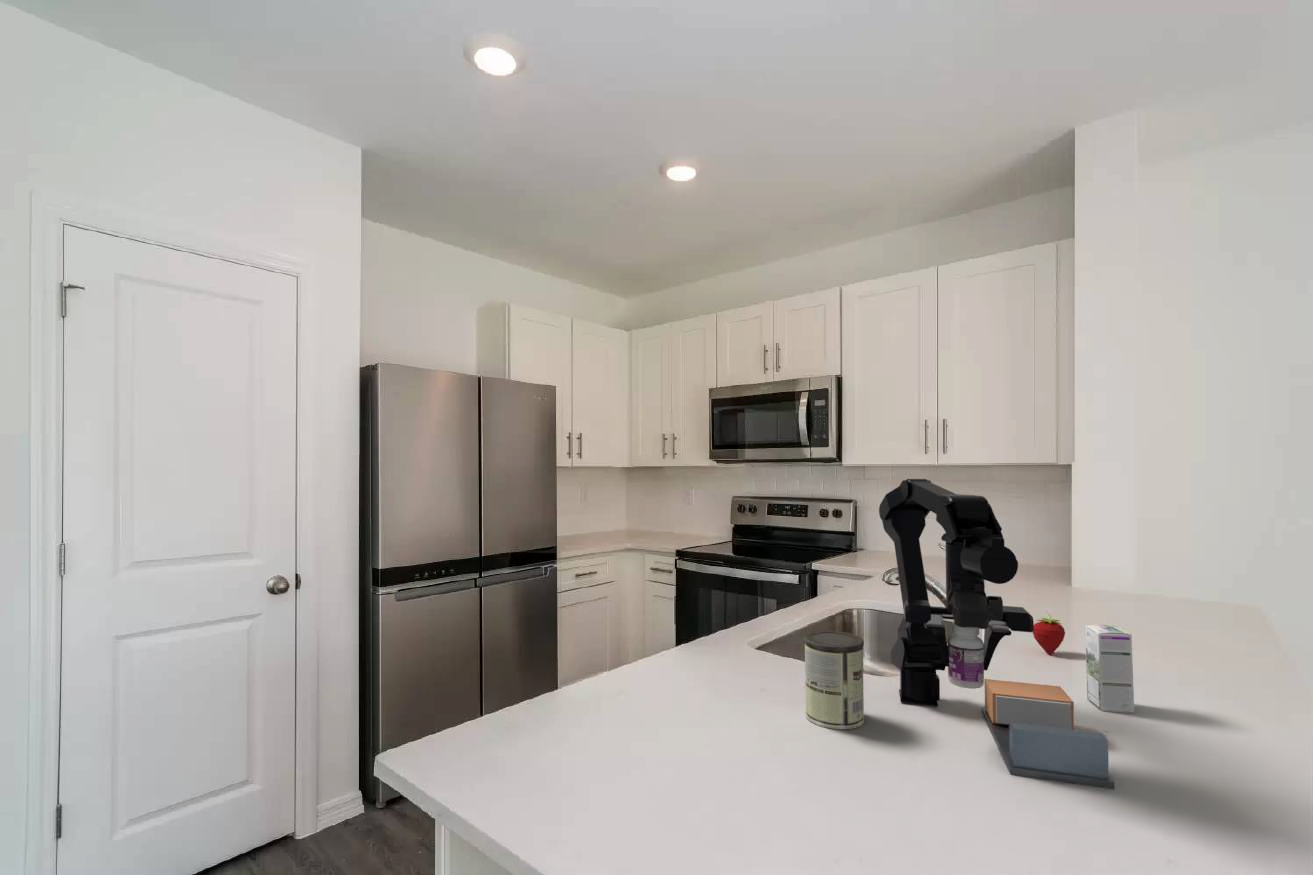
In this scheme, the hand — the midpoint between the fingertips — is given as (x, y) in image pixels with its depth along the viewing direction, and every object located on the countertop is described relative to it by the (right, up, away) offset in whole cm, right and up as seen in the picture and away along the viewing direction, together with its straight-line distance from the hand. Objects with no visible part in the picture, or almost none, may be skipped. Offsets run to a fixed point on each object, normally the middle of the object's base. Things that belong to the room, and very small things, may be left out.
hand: (965, 667), depth 104 cm
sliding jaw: (+13, -11, +6) cm, 18 cm away
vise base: (+11, -12, -2) cm, 16 cm away
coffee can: (-19, -13, +9) cm, 25 cm away
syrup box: (+34, -13, +15) cm, 40 cm away
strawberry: (+43, -14, +47) cm, 65 cm away
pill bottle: (0, -3, 0) cm, 3 cm away
